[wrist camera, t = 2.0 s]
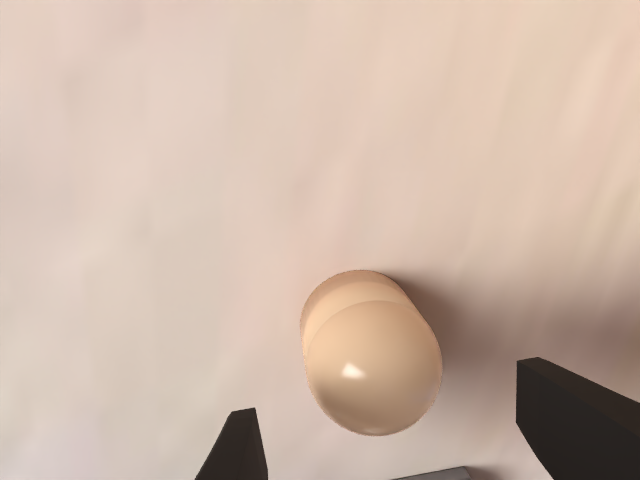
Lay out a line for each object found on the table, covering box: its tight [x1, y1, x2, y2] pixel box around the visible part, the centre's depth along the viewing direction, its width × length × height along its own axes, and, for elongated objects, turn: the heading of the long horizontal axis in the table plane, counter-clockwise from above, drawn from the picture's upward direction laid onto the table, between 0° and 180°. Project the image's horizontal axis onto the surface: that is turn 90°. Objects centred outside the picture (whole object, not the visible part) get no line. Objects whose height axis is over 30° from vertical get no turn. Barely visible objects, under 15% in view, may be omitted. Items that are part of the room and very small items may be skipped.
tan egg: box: [300, 270, 442, 436], centre depth 14 cm, size 4×4×5 cm
